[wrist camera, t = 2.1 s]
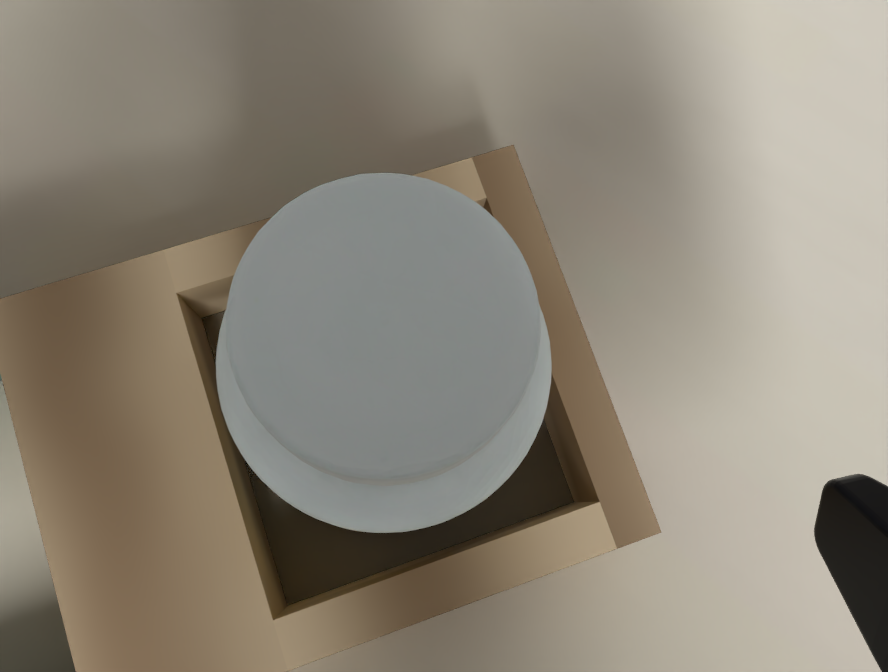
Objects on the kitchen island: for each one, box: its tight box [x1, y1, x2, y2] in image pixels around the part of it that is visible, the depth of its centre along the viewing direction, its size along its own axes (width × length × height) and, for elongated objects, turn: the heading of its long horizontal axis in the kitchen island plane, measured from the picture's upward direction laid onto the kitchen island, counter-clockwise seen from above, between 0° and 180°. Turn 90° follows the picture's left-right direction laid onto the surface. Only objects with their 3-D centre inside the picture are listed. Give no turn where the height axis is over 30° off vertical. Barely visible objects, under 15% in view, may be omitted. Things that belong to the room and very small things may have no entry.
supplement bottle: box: [216, 173, 552, 533], centre depth 15 cm, size 5×5×10 cm
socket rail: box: [0, 145, 661, 672], centre depth 18 cm, size 20×9×2 cm, turn 109°
